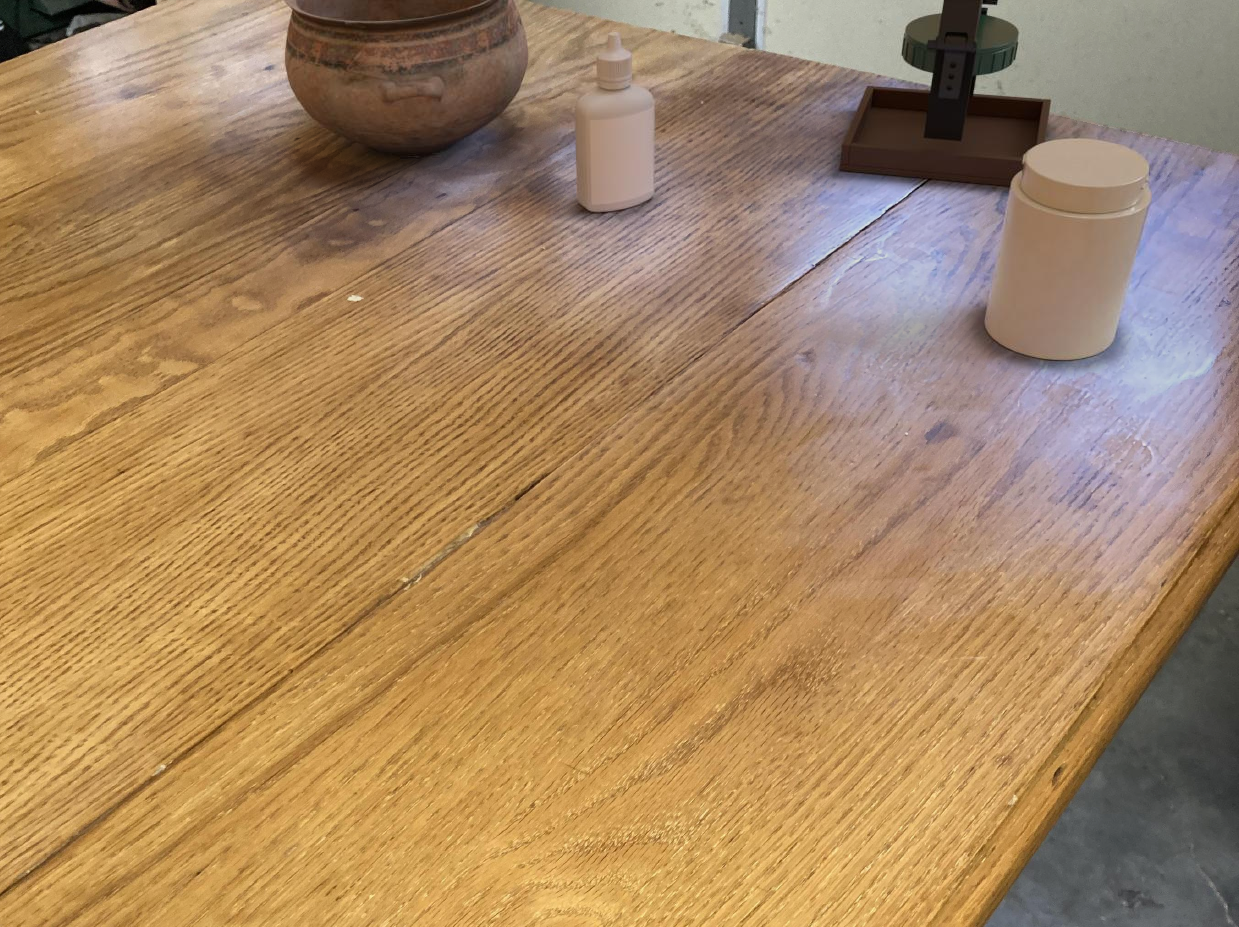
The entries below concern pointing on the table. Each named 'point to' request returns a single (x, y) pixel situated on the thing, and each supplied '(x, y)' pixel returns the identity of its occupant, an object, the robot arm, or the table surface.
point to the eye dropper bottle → (615, 136)
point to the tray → (897, 147)
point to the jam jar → (1068, 248)
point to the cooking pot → (405, 68)
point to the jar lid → (992, 33)
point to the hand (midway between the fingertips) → (949, 115)
